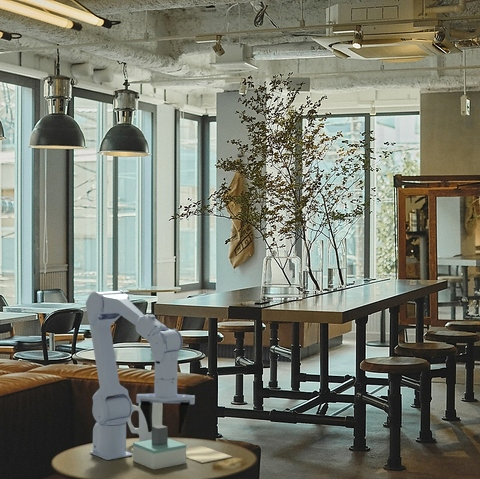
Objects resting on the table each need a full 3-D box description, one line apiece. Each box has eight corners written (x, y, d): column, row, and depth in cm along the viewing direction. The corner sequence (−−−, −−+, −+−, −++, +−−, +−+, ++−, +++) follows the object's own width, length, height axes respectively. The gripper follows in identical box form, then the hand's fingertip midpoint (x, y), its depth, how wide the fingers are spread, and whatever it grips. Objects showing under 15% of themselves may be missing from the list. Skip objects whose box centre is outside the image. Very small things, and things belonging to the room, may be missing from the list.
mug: (163, 440, 261) (163, 398, 261) (161, 446, 255) (161, 403, 254) (128, 440, 261) (128, 398, 261) (125, 446, 255) (125, 403, 254)
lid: (133, 448, 239) (133, 425, 239) (164, 443, 245) (165, 420, 245) (153, 456, 231) (154, 433, 231) (186, 450, 237) (186, 427, 237)
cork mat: (172, 452, 248) (172, 451, 248) (201, 446, 254) (201, 445, 254) (202, 463, 237) (202, 462, 237) (232, 457, 243) (232, 456, 243)
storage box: (133, 460, 239) (133, 445, 239) (164, 454, 245) (164, 440, 245) (153, 469, 231) (153, 453, 231) (186, 463, 238) (186, 447, 237)
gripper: (134, 380, 225) (133, 434, 226) (192, 381, 225) (192, 436, 225) (139, 375, 233) (138, 427, 233) (195, 376, 232) (195, 429, 232)
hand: (165, 431), depth 229 cm, fingers open, 7 cm apart
